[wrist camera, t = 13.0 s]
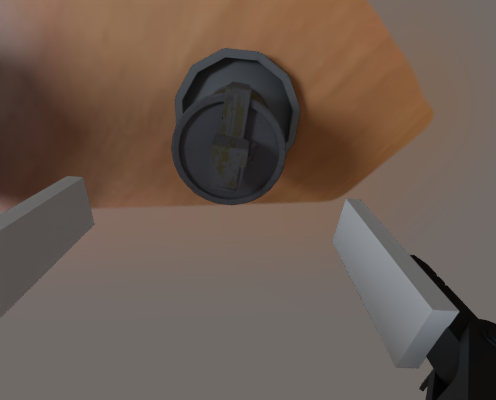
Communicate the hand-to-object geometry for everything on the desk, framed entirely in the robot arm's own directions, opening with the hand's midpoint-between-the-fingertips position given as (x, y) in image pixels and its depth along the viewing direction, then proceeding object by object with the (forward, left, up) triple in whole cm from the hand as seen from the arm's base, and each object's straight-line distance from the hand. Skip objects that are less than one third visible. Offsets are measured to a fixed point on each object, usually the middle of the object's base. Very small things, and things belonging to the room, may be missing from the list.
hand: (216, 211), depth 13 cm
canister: (0, 0, -28) cm, 28 cm away
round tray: (0, 0, -29) cm, 29 cm away
